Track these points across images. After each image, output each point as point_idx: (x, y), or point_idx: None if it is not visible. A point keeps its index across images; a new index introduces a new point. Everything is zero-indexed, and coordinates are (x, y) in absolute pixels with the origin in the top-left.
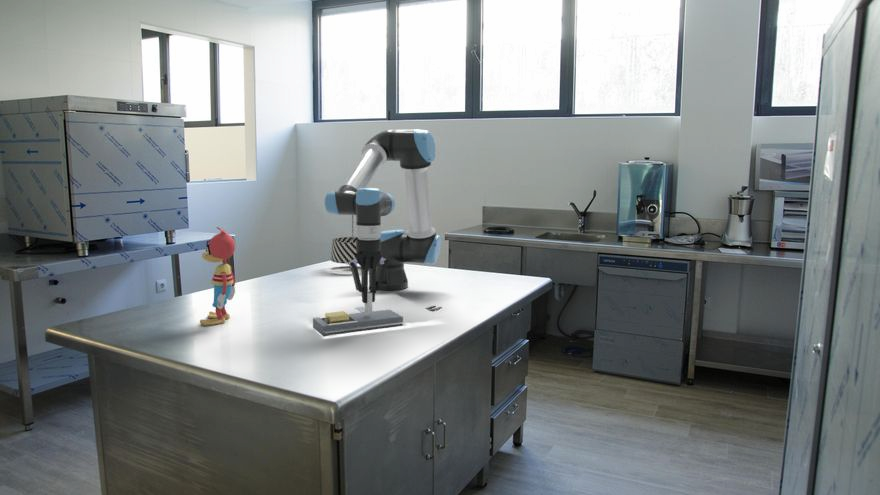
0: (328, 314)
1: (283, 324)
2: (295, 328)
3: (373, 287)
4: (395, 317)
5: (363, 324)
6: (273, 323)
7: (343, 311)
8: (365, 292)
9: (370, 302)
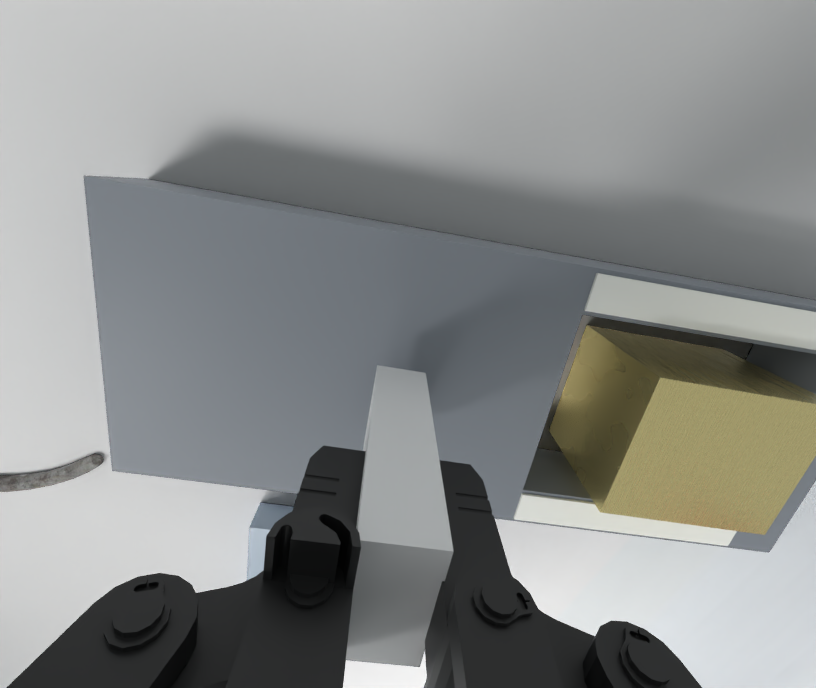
0: (785, 485)
1: (776, 619)
2: (795, 534)
3: (300, 670)
4: (177, 195)
5: (534, 253)
6: (795, 652)
7: (610, 504)
8: (502, 585)
9: (397, 433)
